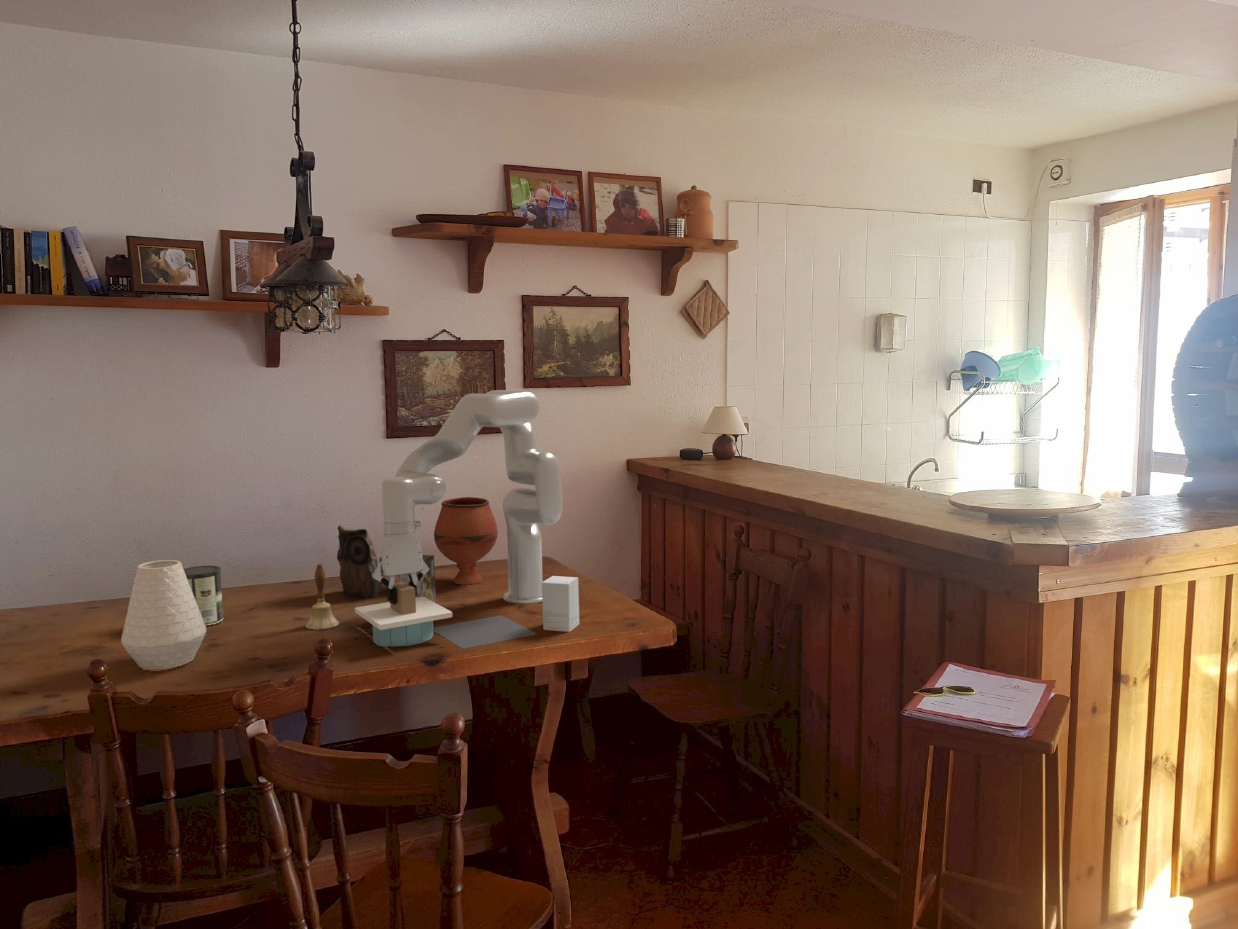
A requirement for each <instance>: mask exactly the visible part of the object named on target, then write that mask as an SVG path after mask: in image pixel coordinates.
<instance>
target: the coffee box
mask: <svg viewBox="0 0 1238 929" xmlns="http://www.w3.org/2000/svg"><path fill="white" fill-rule="evenodd" d="M422 558H423V561H424V562H425V563H426V565H427V566H428V567H429V571H428V572H427V573H426V574H424V575H423V577H422V578H421V579H420V580H419V582H418V584H417V596H416V597H415V598H417V597H423V596H424V597H425V598H427V599H429V600H431V601H433V602H435V603H436V604H437V599H436V596H437V595H436V578H435V576H436V573H435V570H436V569H435V555H434V554H422ZM398 582H404V583H406V584H408V583H409V577H408V574H405V575H398Z"/></svg>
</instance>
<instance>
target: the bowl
mask: <svg viewBox="0 0 1238 929" xmlns="http://www.w3.org/2000/svg"><path fill="white" fill-rule="evenodd" d="M433 628H434V621H428V622H423V623H417V624H411V625H406V626H400V627H395V628H389V629H384V630H380V629H378V628H377V627H375V626H374V625H372V642H373V643H375V644H376V645H377V646H379V647H383V648H387V647H408V646H413V645H419V644H423V643H425V642H427V641H429V640H431V639H432V638H433V636H434V631H433Z"/></svg>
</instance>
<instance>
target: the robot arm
mask: <svg viewBox="0 0 1238 929" xmlns="http://www.w3.org/2000/svg"><path fill="white" fill-rule="evenodd" d="M539 413H540V402H539V399H538V397H537V396H536V395H535V394H534V393H532V392H531V391H528V390H512V389H511V390H510V389H509V390H508V389H498V390H497V389H496V390H490V391H488V392H486V393H468V394H465V395H464V396H463V397H461V398H460V400H459V401H458V403H457V404H456V405H455V407H454V408H453V410H452V411H451V413H450V414H449V416H448V417H447V419H446V421H445V422H444V424H443V425H442V426H441V428H440V429H439V431H438V432H437V433H436V434H435V435H434V436H433V437H431V438H430V439H428V440H427V441H425V442H424V443H423V444H421V445H420V446H418V447H417V448H415V449H414V450H413V451H412V452H411V453H410V454H409V455H408V456H406V458H405V459H404V461H403V462H402V463H401V465H400V467H398V470H397V471H396V472H395V475H394V476H390V477H386V478H384V479H383V480H382V482H381V497H382V499H381V502H382V524H383V528H382V529H383V533H382V534H380V535H379V541H378V549H377V559H378V567H377V568H376V570H375V572H374V573H373V575H372V577H373V578H374V579H376V580H378V581H380V582H381V583H382V585H384V586H385V587H386V596H387V602H390V603H391V604H393V605H395V604H396V589H395V588H394V583H395V579H396V577H399V575H405V574H408V577H409V583H408V585H410V586H412V587H414V588H415V597H416V596H417V584H418V582H419V580H420V579H421V578H422V577H423V575H424V574H426V573H427V572H428V571H429V567H428V566H427V565H426V563H425V562H424V561H423V558H422V555H423V551H422V544H421V540H420V534H419V532H418V531H416V530H417V528H418V527H421V524H422V523H421V521H420V520H418V521H417V520H416V514H415V510H416V508H415V506H416V505H434V504H435V503H438V502H440V501H441V500H442V499H443V498H444V496H445V494H446V489H447V488H446V483H445V481H444V480H443V478H442V477H440V476H439V475H436V474H435V473H428V472H429V471H431V470H432V469H434V468H435V467H437V466H439V465H441V464H443V463H446V462H449V461H452V460H455V459H457V458H460V457H461V456H463V455H464V454H466V452H467V451H468V449H469V447H470V446H471V444H472V443H473V442H474V439H476V437H477V435H478V434H479V433H480V431H481V429H482V428H484V427H487V428H499V429H500V431H501V433H502V437H503V443H504V444H503V445H504V456H505V457H504V458H505V459H504V460H505V470H506V475H507V478H508V479H509V480H510V481H511V482H513V483H514V484H521V485H530V486H534V487H535V488H531V487H530V488H529V487H515V488H512V489H511V490H509V491H507V493H506V494H505V496H504V498H503V502H502V508H503V509H502V510H503V515H504V518H505V524H506V533H507V566H508V567H507V573H508V591H506V592H505V593H504V594H503V595H502V596H503V601H505V602H508V603H510V604H511V603H512V604H522V605H523V604H535V603H543V602H542V582H544V581H545V580H543V551H542V550H543V549H542V547H543V546H542V545H543V544H542V543H543V542H542V540H543V539H542V534H541V533H542V532H541V530H540V528H539V525H544V526H551V525H554V524H556V523H558V521H559V520H560V519H561V516H562V514H563V506H564V505H563V504H564V503H563V502H564V501H563V486H562V484H563V483H562V469H561V465H560V461H559V460H558V458H557V457H556V456H555V454H554V453H551V452H549V451H544V450H537V448H536V438H535V432H534V428H533V425H532V423H531V422H533V421H534V420H535V419H536V418H537V416H538V415H539ZM381 574H383V575H384V576H385V577H383V576H382V577H381Z"/></svg>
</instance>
